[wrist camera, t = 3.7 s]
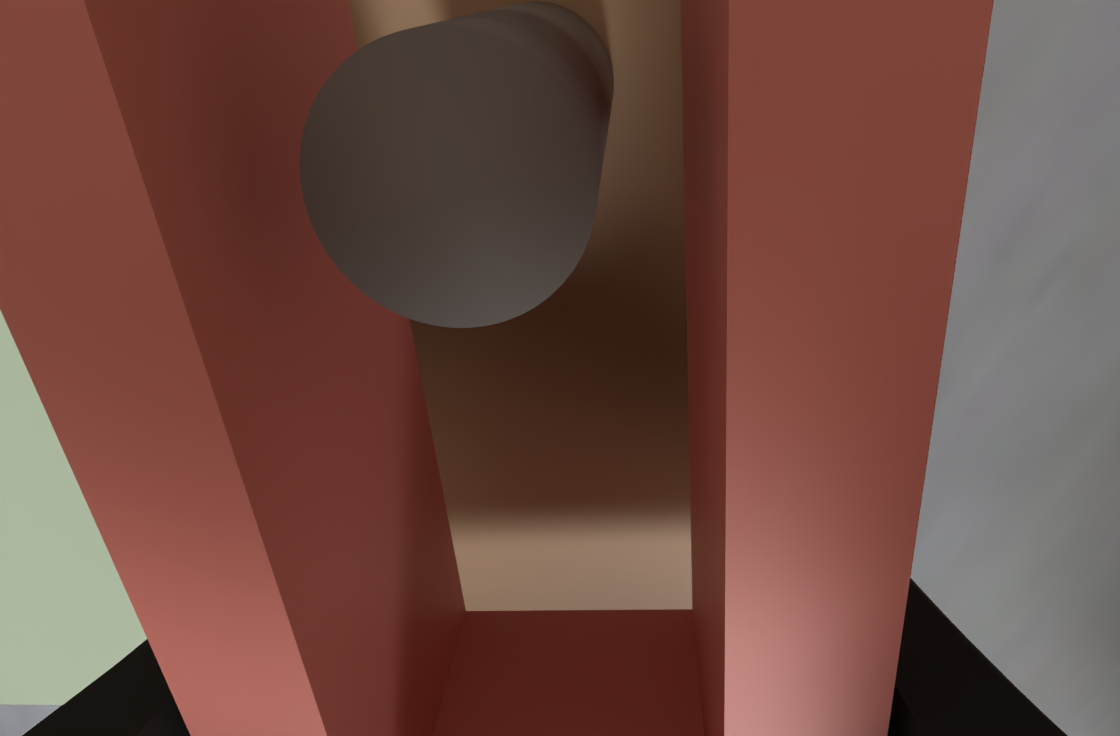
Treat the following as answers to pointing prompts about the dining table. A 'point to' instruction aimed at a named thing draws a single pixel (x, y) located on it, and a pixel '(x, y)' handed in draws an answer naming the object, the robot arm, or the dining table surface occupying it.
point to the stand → (528, 277)
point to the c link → (397, 392)
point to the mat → (50, 559)
